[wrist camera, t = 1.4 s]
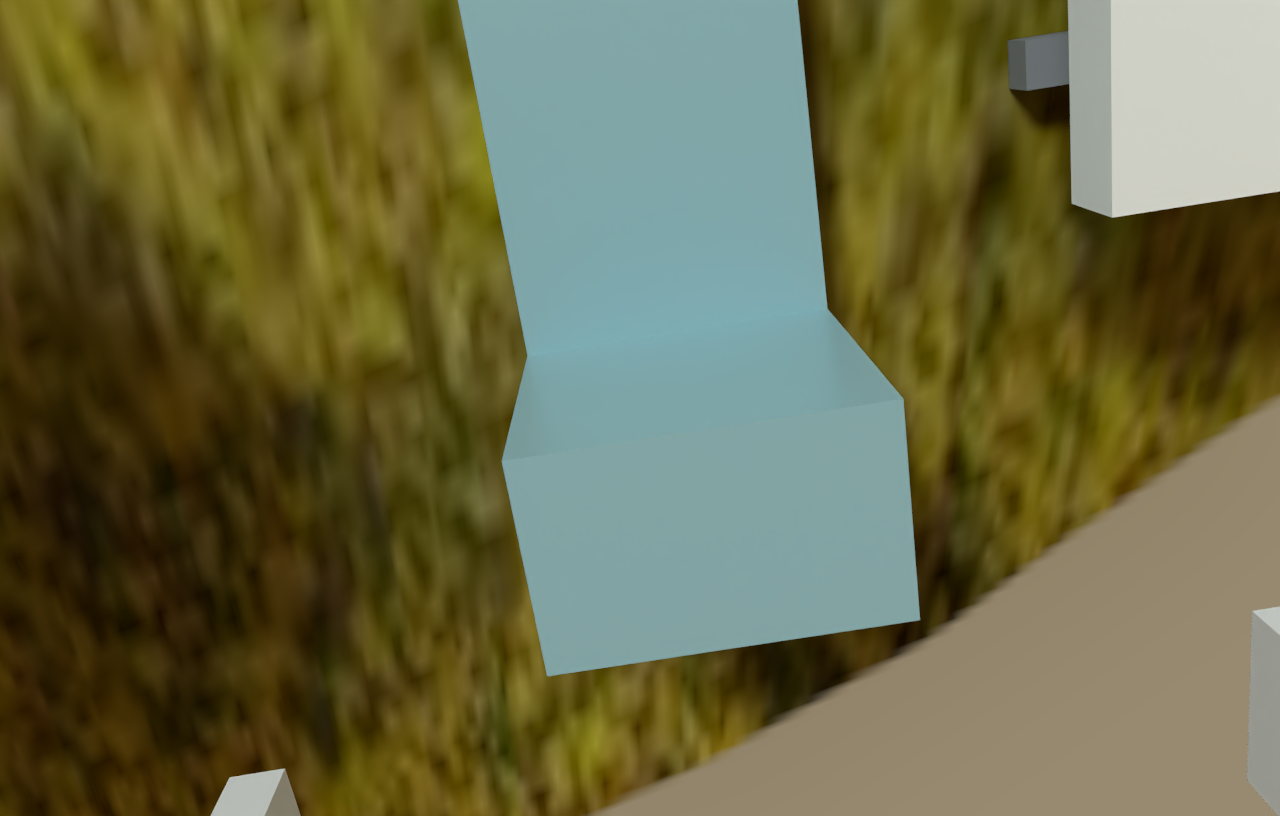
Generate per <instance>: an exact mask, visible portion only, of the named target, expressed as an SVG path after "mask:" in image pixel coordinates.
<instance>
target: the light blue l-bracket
mask: <svg viewBox="0 0 1280 816" xmlns="http://www.w3.org/2000/svg"><path fill="white" fill-rule="evenodd" d="M458 3H459V8H460V13H461V18H462V23H463V28H464V33H465V38H466V43H467V49H468V54H469V59H470V64H471V69H472V74H473V79H474V84H475V89H476V95H477V100H478V105H479V110H480V115H481V120H482V125H483V130H484V135H485V141H486V146H487V151H488V156H489V161H490V166H491V171H492V176H493V181H494V187H495V192H496V197H497V202H498V207H499V212H500V217H501V222H502V227H503V233H504V238H505V243H506V248H507V253H508V258H509V263H510V268H511V273H512V279H513V284H514V289H515V294H516V299H517V304H518V309H519V314H520V319H521V325H522V330H523V335H524V340H525V345H526V350H527V355H528V356H527V360H526V364H525V368H524V372H523V376H522V380H521V384H520V389H519V393H518V397H517V401H516V405H515V409H514V413H513V417H512V421H511V425H510V429H509V433H508V438H507V442H506V446H505V450H504V454H503V458H502V465H503V470H504V474H505V479H506V484H507V489H508V493H509V498H510V503H511V507H512V512H513V517H514V522H515V526H516V531H517V536H518V541H519V545H520V550H521V555H522V560H523V564H524V569H525V574H526V578H527V583H528V588H529V593H530V597H531V602H532V607H533V612H534V616H535V621H536V626H537V631H538V635H539V640H540V645H541V649H542V654H543V659H544V664H545V668H546V673H547V676H553V675H559V674H566V673H573V672H579V671H586V670H593V669H599V668H606V667H613V666H619V665H626V664H633V663H639V662H646V661H652V660H659V659H666V658H672V657H679V656H686V655H692V654H699V653H706V652H712V651H719V650H726V649H732V648H739V647H745V646H752V645H759V644H765V643H772V642H779V641H785V640H792V639H799V638H805V637H812V636H819V635H825V634H832V633H838V632H845V631H852V630H858V629H865V628H872V627H878V626H885V625H892V624H898V623H905V622H912V621H918V620H920V612H919V599H918V586H917V572H916V559H915V546H914V532H913V519H912V506H911V493H910V479H909V466H908V453H907V440H906V426H905V413H904V400H903V398H902V397H901V396H900V394H899V393H898V392H897V391H896V390H895V388H894V387H893V386H892V385H891V384H890V382H889V381H888V380H887V379H886V378H885V376H884V375H883V374H882V373H881V372H880V371H879V369H878V368H877V367H876V366H875V365H874V363H873V362H872V361H871V360H870V359H869V357H868V356H867V355H866V354H865V353H864V351H863V350H862V349H861V348H860V347H859V345H858V344H857V343H856V342H855V341H854V340H853V338H852V337H851V336H850V335H849V334H848V332H847V331H846V330H845V329H844V328H843V326H842V325H841V324H840V323H839V322H838V320H837V319H836V318H835V317H834V316H833V315H832V313H831V312H830V311H829V310H828V308H827V298H826V288H825V277H824V267H823V257H822V247H821V236H820V226H819V216H818V206H817V195H816V185H815V175H814V164H813V154H812V144H811V134H810V123H809V113H808V103H807V92H806V82H805V72H804V62H803V51H802V41H801V31H800V21H799V10H798V0H458Z"/></svg>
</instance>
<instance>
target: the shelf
mask: <svg viewBox="0 0 1280 816" xmlns="http://www.w3.org/2000/svg"><path fill="white" fill-rule="evenodd" d="M1008 62H1009V89H1015V90H1024V91H1029V90H1035V89H1041V88H1047V87H1054V86H1060V85H1066V84H1069V89H1070V142H1071V195H1072V204H1074V205H1077V206H1080V207H1083V208H1086V209H1089V210H1091V211H1094V212H1097V213H1100V214H1103V215H1106V216H1109V217H1112V218H1113V217H1120V216H1126V215H1132V214H1139V213H1145V212H1152V211H1158V210H1164V209H1171V208H1177V207H1183V206H1190V205H1196V204H1202V203H1209V202H1215V201H1222V200H1228V199H1234V198H1241V197H1247V196H1253V195H1260V194H1266V193H1272V192H1279V191H1280V0H1068V31H1064V32H1058V33H1052V34H1045V35H1039V36H1033V37H1027V38H1021V39H1014V40H1008Z"/></svg>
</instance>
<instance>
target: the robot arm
mask: <svg viewBox="0 0 1280 816" xmlns="http://www.w3.org/2000/svg"><path fill="white" fill-rule="evenodd" d="M1251 637H1252V639H1251V668H1250V669H1251V670H1250V701H1249V733H1248V734H1249V735H1248V766H1247V781H1248V782H1249V783H1250V784H1251V785H1252V786H1253V787H1254V789H1255V790H1256V791H1257V792H1258V793H1259V794H1260V796H1261V797H1262V798H1263V799H1264V800H1265V801H1266V802H1267V804H1268V805H1269V806H1270V807H1271V808H1272V809H1273V810H1274V812H1275V813H1276V814H1277V815H1278V816H1280V607H1275V608H1269V609H1263V610H1256V611H1252V636H1251ZM211 816H301V815H300V812H299V809H298V806H297V803H296V800H295V797H294V794H293V791H292V788H291V785H290V782H289V779H288V776H287V773H286V770H285V768H284V769H278V770H272V771H266V772H260V773H253V774H247V775H241V776H235V777H230V778H229V780H228V782H227V784H226V786H225V788H224V790H223V792H222V794H221V796H220V798H219V800H218V802H217V804H216V806H215V808H214V810H213V812H212V814H211Z"/></svg>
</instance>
